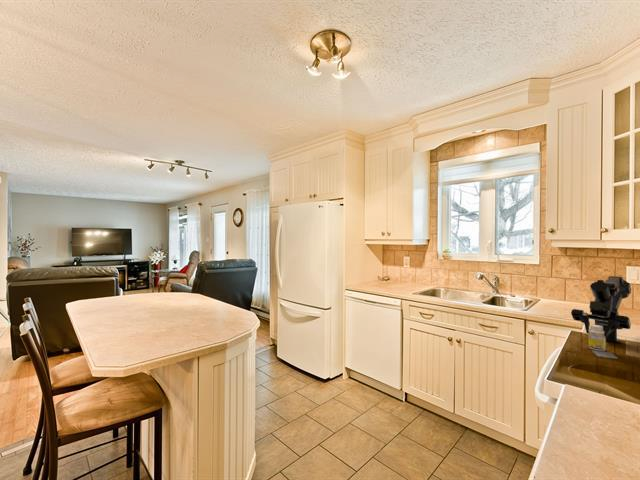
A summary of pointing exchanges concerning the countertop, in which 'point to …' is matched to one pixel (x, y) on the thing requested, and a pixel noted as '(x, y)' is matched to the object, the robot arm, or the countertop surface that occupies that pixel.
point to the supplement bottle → (597, 338)
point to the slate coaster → (604, 354)
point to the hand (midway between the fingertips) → (596, 334)
